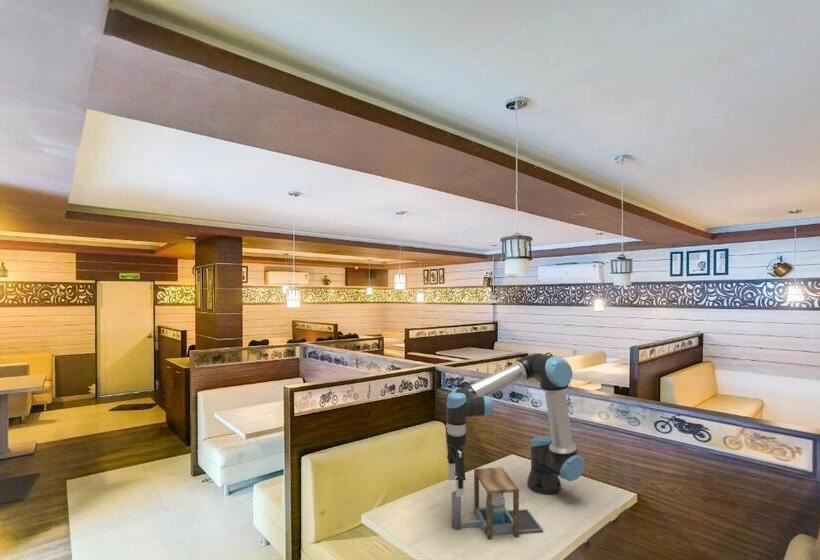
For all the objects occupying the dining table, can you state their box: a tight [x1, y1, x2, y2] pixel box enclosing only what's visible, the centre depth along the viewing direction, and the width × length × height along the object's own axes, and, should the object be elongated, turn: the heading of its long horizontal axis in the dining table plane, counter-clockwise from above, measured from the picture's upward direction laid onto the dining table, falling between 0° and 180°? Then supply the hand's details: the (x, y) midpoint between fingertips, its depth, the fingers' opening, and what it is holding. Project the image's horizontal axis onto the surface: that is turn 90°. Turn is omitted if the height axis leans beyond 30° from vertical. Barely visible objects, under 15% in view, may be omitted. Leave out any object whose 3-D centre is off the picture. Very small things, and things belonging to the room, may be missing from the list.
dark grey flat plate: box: [507, 508, 544, 535], centre depth 168 cm, size 10×15×1 cm, turn 7°
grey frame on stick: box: [451, 490, 513, 536], centre depth 166 cm, size 24×13×13 cm, turn 97°
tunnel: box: [473, 467, 520, 540], centre depth 167 cm, size 12×19×18 cm, turn 7°
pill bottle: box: [485, 493, 506, 525], centre depth 167 cm, size 8×7×14 cm
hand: (455, 487), depth 165 cm, fingers open, 13 cm apart
